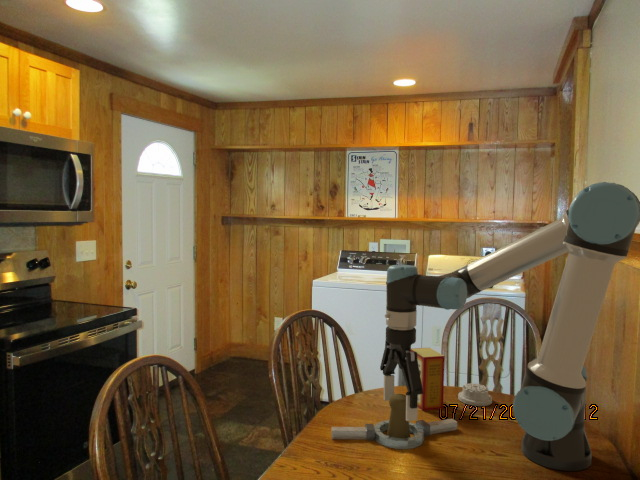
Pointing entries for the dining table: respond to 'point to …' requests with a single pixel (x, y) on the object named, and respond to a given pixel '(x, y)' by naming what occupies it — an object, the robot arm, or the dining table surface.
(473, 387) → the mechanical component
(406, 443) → the grey flat ringed bar
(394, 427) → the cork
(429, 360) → the baking soda box
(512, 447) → the dining table surface
